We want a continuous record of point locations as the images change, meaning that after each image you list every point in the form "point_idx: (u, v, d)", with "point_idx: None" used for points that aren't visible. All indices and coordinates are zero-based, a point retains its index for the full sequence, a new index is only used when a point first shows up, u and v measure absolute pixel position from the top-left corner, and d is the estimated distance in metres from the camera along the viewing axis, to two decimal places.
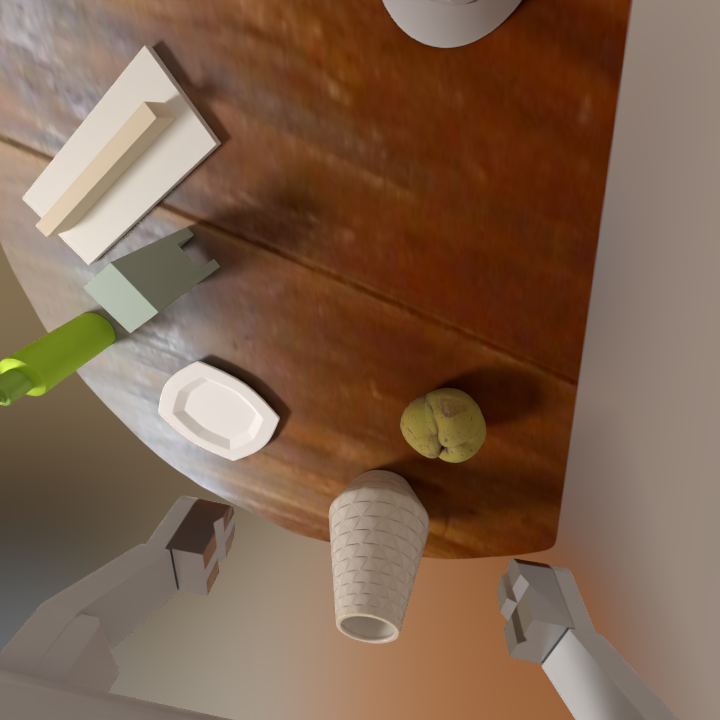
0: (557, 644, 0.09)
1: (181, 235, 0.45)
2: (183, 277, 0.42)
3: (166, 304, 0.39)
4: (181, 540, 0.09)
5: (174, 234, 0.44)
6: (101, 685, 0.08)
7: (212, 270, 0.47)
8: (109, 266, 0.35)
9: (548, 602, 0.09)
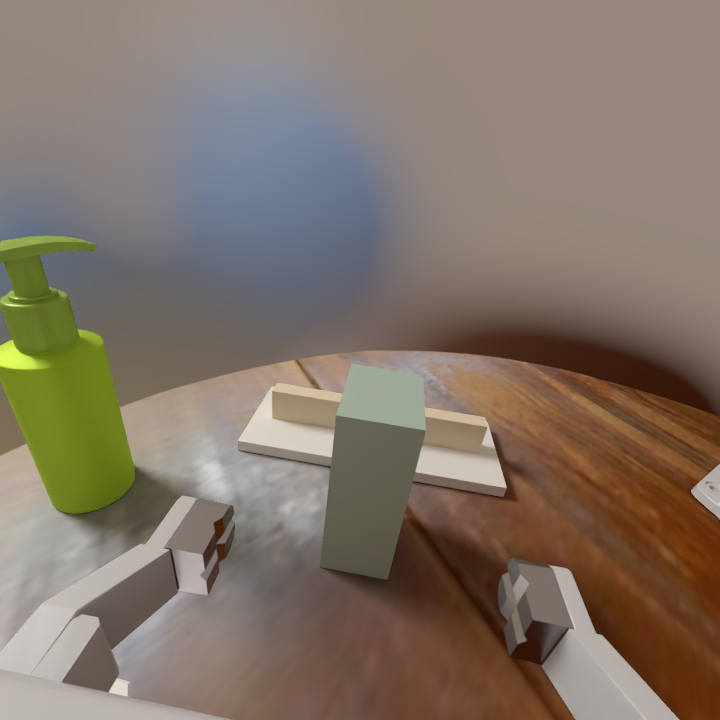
0: (557, 645, 0.09)
1: None
2: None
3: None
4: (181, 540, 0.09)
5: None
6: (101, 685, 0.08)
7: (391, 561, 0.26)
8: (416, 375, 0.25)
9: (548, 602, 0.09)
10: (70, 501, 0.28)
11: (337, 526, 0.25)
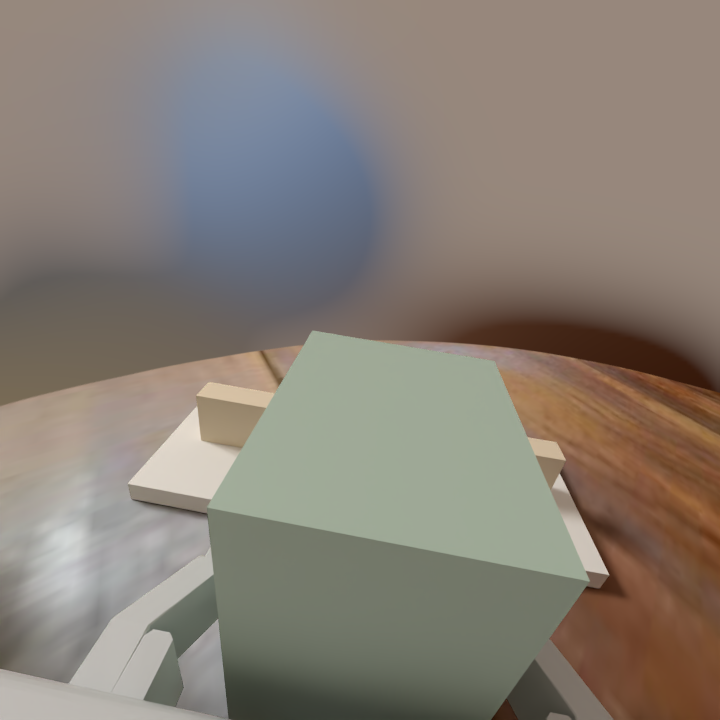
0: None
1: None
2: None
3: None
4: None
5: None
6: (170, 700, 0.08)
7: None
8: (478, 361, 0.10)
9: None
10: None
11: None
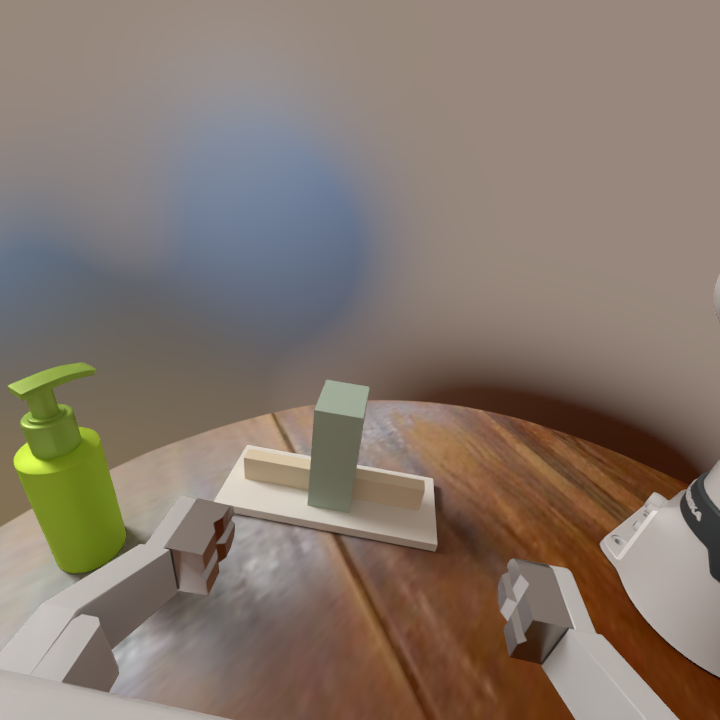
0: (557, 645, 0.09)
1: None
2: (357, 458, 0.41)
3: (361, 430, 0.38)
4: (181, 540, 0.09)
5: None
6: (101, 685, 0.08)
7: (350, 500, 0.43)
8: (365, 387, 0.42)
9: (548, 602, 0.09)
10: (72, 564, 0.35)
11: (317, 477, 0.41)
